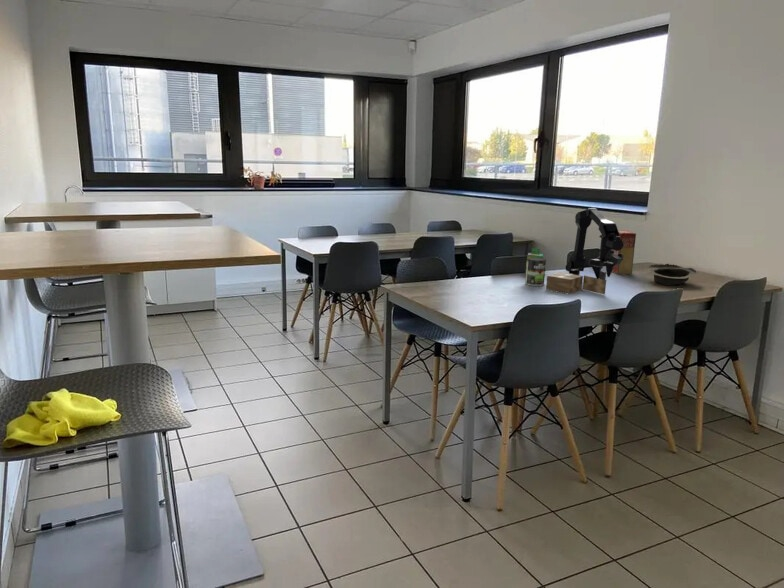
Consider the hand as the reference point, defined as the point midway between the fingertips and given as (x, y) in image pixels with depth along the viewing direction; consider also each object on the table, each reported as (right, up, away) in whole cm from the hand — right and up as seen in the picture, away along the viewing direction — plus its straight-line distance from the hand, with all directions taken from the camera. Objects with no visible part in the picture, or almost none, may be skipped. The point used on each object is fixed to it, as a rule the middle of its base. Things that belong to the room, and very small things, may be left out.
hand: (603, 277), depth 292 cm
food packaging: (+32, +5, +58) cm, 66 cm away
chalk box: (-22, +4, +53) cm, 58 cm away
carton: (-17, -6, +11) cm, 21 cm away
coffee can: (-29, -3, +23) cm, 38 cm away
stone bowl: (+49, -2, +30) cm, 58 cm away
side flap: (-3, -7, +5) cm, 9 cm away
